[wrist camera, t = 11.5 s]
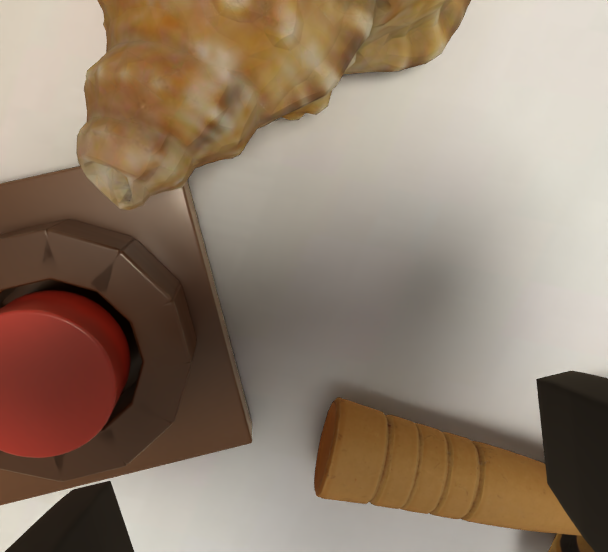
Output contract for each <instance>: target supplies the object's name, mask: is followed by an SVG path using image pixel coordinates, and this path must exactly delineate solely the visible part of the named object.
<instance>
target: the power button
mask: <svg viewBox="0 0 608 552" xmlns="http://www.w3.org/2000/svg"><path fill="white" fill-rule="evenodd" d="M130 363H131V358H130V350H129V345H128V342H127V339H126V337H125V334H124V332H123V330H122V329H121V327H120V325H119V324H118V323H117V321H116V320H115V319H114V318H113V316H112V315H111V314H110V313H109V312H108V311H106V310H105V309H104V308H103V307H101V306H100V305H99V304H97V303H95V302H94V301H92V300H90V299H88V298H86V297H84V296H81V295H78V294H75V293H71V292H66V291H58V290H45V291H38V292H33V293H29V294H26V295H23V296H21V297H19V298H17V299H15V300H13V301H12V302H10V303H8V304H7V305H5V306H4V307H2V308H1V309H0V450H1V451H3V452H6V453H9V454H13V455H16V456H22V457H31V458H43V457H52V456H58V455H61V454H65V453H68V452H70V451H73V450H75V449H77V448H79V447H81V446H83V445H84V444H86V443H87V442H89V441H90V440H91V439H92V438H94V437H95V436H96V435H97V434H98V433H99V432H100V431H101V430H102V428H103V427H104V425H105V424H106V423H107V421H108V419H109V417H110V415H111V413H112V411H113V409H114V407H115V405H116V403H117V401H118V399H119V397H120V395H121V393H122V391H123V389H124V387H125V385H126V382H127V380H128V377H129V372H130Z"/></svg>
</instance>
